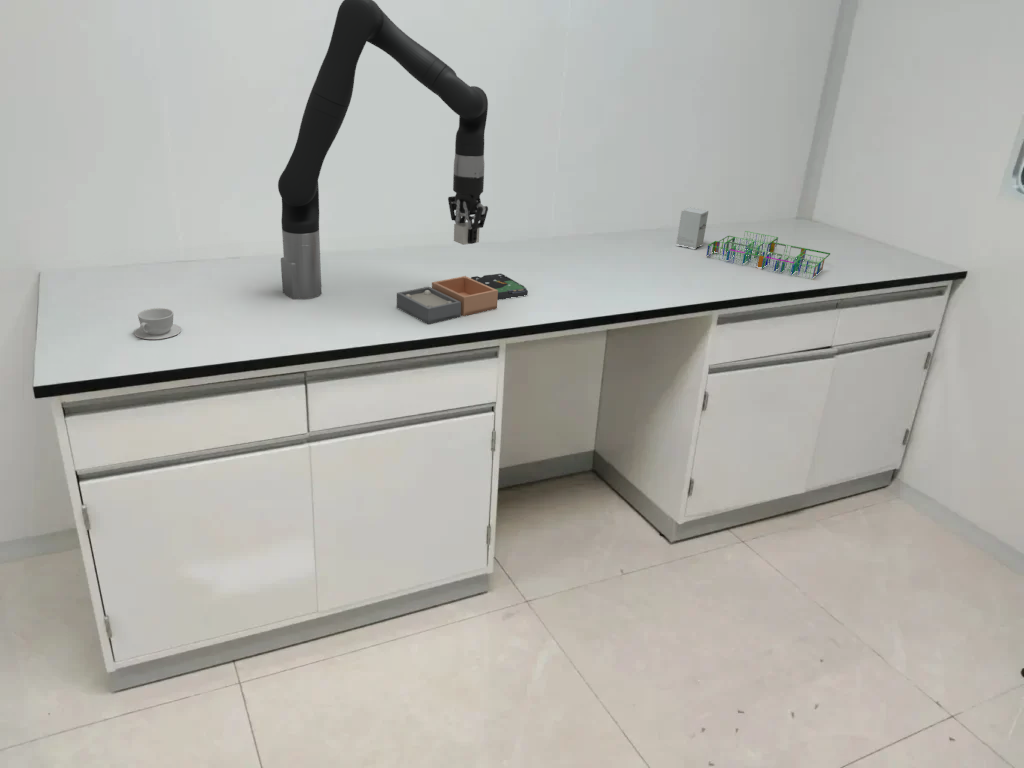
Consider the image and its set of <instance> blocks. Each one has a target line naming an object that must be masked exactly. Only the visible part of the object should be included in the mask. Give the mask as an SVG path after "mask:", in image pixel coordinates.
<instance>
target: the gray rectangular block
mask: <svg viewBox="0 0 1024 768" xmlns="http://www.w3.org/2000/svg"><path fill="white" fill-rule="evenodd" d="M473 223H474V222H472V224H473ZM453 225H454V226H453V227H454V228H453V231H454V232H453V242H454V243H458V244H461V245H470V244H469V243H468V229H469V227H468V221H466V222H465V223H458V224H456V223H454V224H453ZM477 243H480V228H478V229H477V240H476V243H475V244H477Z"/></svg>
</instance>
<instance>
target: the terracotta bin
mask: <svg viewBox="0 0 1024 768" xmlns="http://www.w3.org/2000/svg"><path fill="white" fill-rule="evenodd" d="M431 288H433V289H435V290H437V291H439V292H441V293H443V294H445V295H447V296H450V297H452V298H454V299H456V300H458V301H460V302H461V316H462V317H466V315H467V316H470V315H474V313H475V314H479V312H480V313H484V312H488V311H487V310H489V311H493V310H497V309H498V300H497V299H498V290H496V289H494V288H491V287H489V286H487V285H485V284H482V283H480V282H478V281H476V280H473V279H471V277H468V276H466V275H463V276H458V277H457V276H456V277H452V278H448V279H441V280H436V281H432V282H431ZM496 308H497V309H496ZM492 309H493V310H492ZM483 311H484V312H483Z"/></svg>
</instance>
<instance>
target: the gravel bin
mask: <svg viewBox="0 0 1024 768" xmlns="http://www.w3.org/2000/svg"><path fill="white" fill-rule="evenodd" d="M396 308H397V309H398V308H399V310H400V309H401V310H400V311H402V310H403V311H402V312H405V313H406V314H408V315H410V316H411V317H413V316H414V317H413V318H415V317H416V318H415V319H417V318H418V319H417V320H419V319H420V320H419V321H421V320H422V321H421V322H423V323H425V324H426V323H427V325H431V323H432V324H436V323H440V322H439V321H441V322H444V320H445V321H448V319H449V320H452V318H454V319H458V318H461V316H462V315H461V302H460V301H458V300H456V299H454V298H452V297H450V296H447V295H445V294H443V293H441V292H439V291H437V290H435V289H433V288H432V286H424V287H419V288H416V289H409V290H405V291H399V292H396ZM457 317H458V318H457ZM435 322H436V323H435Z"/></svg>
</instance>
